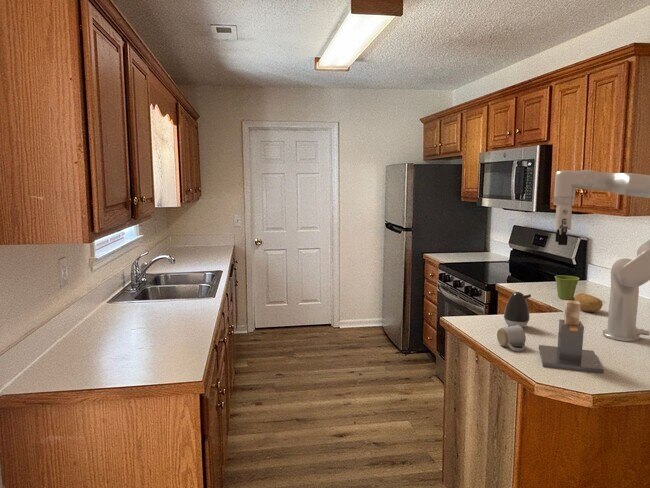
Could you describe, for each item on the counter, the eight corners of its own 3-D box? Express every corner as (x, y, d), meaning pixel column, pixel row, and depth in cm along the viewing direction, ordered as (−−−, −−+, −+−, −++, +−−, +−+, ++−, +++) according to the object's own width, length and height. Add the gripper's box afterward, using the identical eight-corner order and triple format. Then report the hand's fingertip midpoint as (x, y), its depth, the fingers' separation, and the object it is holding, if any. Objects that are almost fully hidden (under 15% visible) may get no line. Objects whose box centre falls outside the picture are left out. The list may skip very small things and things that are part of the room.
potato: (591, 316, 222) (592, 299, 221) (568, 308, 235) (569, 292, 234) (608, 314, 224) (609, 297, 223) (585, 306, 238) (586, 291, 236)
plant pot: (578, 297, 256) (580, 276, 255) (576, 302, 246) (578, 280, 245) (554, 294, 262) (555, 274, 261) (551, 299, 253) (552, 278, 251)
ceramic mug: (495, 343, 186) (496, 324, 185) (514, 341, 187) (515, 322, 186) (510, 353, 176) (512, 333, 174) (530, 351, 177) (532, 331, 176)
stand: (592, 354, 174) (595, 318, 172) (602, 373, 157) (606, 333, 155) (538, 348, 180) (540, 313, 178) (542, 366, 163) (545, 327, 161)
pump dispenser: (531, 331, 200) (534, 295, 198) (505, 329, 202) (507, 294, 200) (526, 323, 210) (528, 289, 208) (501, 322, 212) (503, 288, 210)
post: (574, 352, 169) (578, 301, 167) (576, 356, 165) (580, 303, 163) (561, 351, 171) (565, 300, 168) (563, 355, 167) (567, 302, 164)
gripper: (577, 202, 184) (574, 246, 187) (571, 200, 200) (568, 241, 203) (556, 202, 187) (553, 245, 189) (551, 200, 203) (548, 240, 205)
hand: (561, 243), depth 196 cm, fingers open, 9 cm apart
